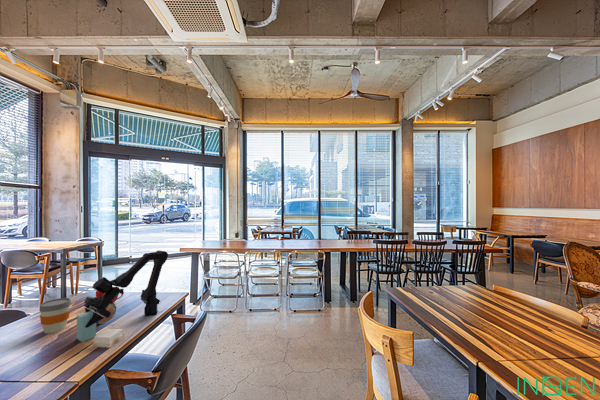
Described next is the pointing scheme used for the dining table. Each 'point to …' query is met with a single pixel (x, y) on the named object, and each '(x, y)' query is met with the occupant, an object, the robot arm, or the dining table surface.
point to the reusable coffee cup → (54, 314)
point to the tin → (111, 309)
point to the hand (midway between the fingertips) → (83, 325)
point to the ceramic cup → (104, 293)
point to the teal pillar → (82, 331)
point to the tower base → (108, 345)
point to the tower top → (108, 335)
